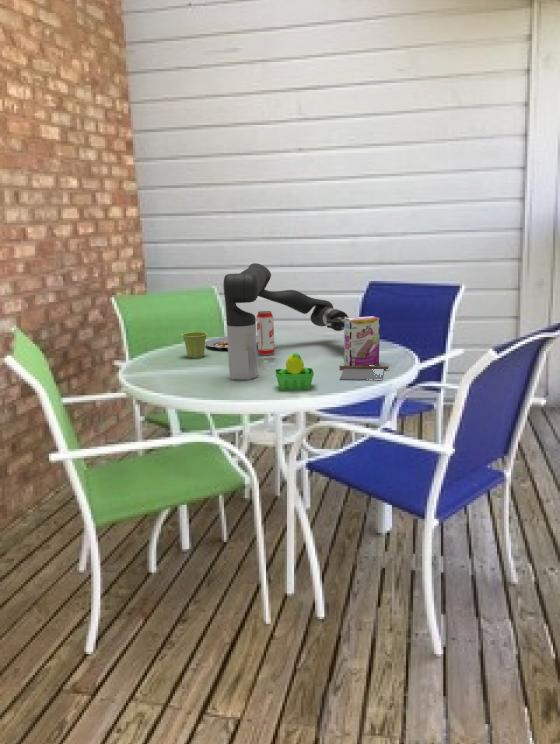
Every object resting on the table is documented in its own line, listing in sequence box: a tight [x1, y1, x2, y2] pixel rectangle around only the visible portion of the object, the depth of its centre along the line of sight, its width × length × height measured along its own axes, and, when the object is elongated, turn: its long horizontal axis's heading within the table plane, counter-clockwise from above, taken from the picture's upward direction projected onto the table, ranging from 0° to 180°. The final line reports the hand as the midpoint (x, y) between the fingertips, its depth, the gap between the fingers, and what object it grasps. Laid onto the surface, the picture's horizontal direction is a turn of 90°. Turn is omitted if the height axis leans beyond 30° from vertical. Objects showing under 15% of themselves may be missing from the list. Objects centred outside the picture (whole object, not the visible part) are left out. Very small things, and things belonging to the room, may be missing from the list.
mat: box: [339, 369, 384, 381], centre depth 208 cm, size 14×13×1 cm
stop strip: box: [339, 365, 390, 371], centre depth 214 cm, size 1×16×1 cm, turn 79°
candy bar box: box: [343, 315, 381, 366], centre depth 219 cm, size 11×5×16 cm, turn 111°
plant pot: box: [181, 331, 208, 359], centre depth 244 cm, size 9×9×9 cm
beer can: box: [256, 310, 275, 356], centre depth 243 cm, size 6×6×16 cm
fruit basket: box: [274, 352, 315, 391], centre depth 194 cm, size 11×9×11 cm
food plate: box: [205, 335, 258, 350], centre depth 264 cm, size 25×23×4 cm
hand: (351, 326), depth 228 cm, fingers closed
